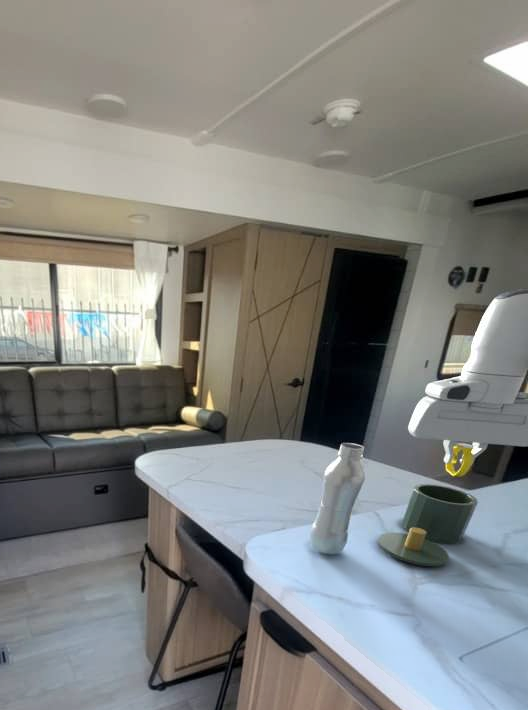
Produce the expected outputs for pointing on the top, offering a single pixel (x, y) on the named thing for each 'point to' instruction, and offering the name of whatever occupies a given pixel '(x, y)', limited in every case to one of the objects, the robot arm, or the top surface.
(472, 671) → the top surface
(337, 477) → the plastic bottle
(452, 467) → the watch
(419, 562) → the tin lid
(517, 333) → the robot arm
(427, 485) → the tin
